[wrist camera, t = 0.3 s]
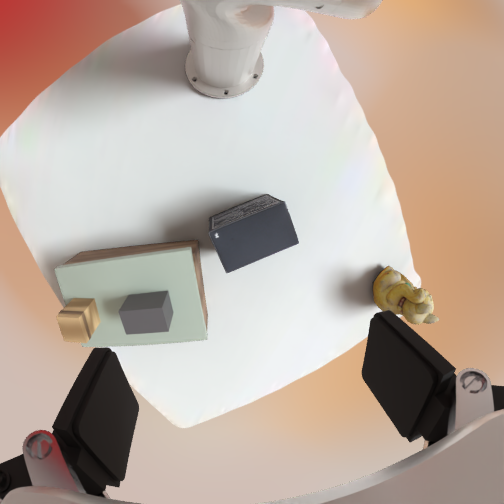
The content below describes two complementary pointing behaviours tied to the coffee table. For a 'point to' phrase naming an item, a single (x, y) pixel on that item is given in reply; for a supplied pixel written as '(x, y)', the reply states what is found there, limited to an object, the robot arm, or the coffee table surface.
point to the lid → (139, 297)
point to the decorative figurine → (403, 297)
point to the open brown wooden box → (141, 249)
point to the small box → (251, 232)
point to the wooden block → (79, 320)
